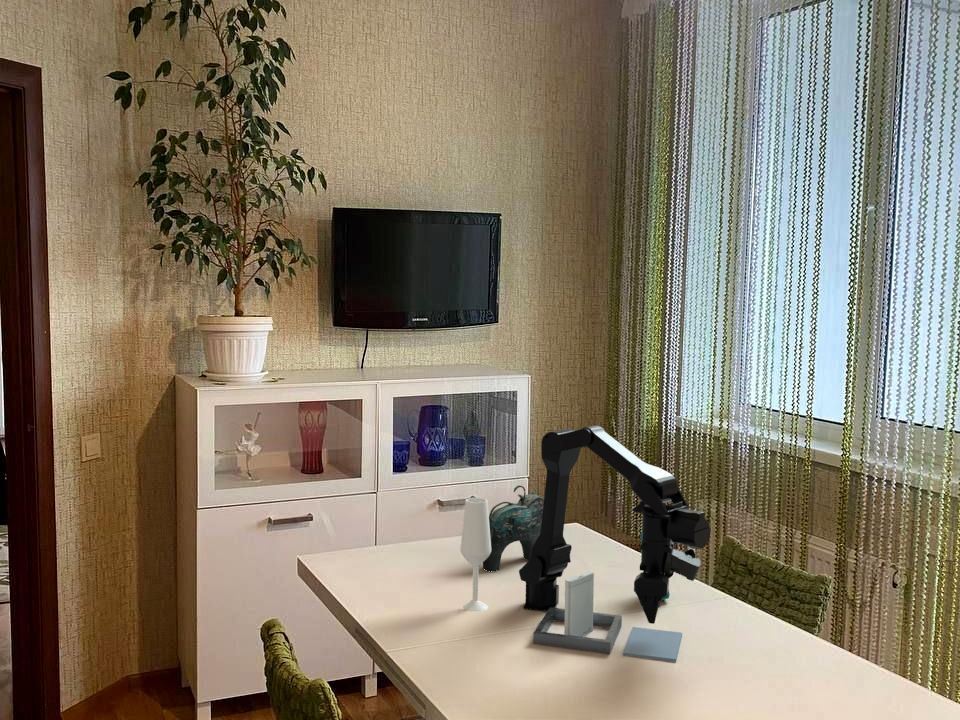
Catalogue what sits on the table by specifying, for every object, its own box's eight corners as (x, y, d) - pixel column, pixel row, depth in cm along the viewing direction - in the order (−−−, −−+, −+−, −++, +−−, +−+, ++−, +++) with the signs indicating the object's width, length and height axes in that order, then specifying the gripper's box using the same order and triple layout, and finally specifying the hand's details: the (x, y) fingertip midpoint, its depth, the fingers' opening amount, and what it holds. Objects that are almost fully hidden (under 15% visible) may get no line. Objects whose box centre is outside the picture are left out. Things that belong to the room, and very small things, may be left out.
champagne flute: (454, 611, 204) (456, 502, 202) (466, 601, 210) (468, 495, 208) (483, 615, 202) (485, 505, 199) (495, 605, 208) (496, 498, 206)
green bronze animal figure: (532, 555, 246) (533, 479, 244) (550, 560, 241) (552, 483, 239) (476, 570, 232) (477, 490, 231) (494, 576, 228) (495, 495, 226)
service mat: (623, 655, 181) (623, 652, 181) (632, 629, 195) (632, 626, 195) (676, 662, 179) (676, 659, 178) (682, 635, 192) (682, 632, 192)
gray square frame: (533, 645, 186) (533, 633, 186) (549, 618, 200) (549, 607, 200) (610, 655, 181) (610, 642, 181) (621, 627, 196) (621, 615, 196)
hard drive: (593, 631, 193) (595, 572, 192) (569, 643, 187) (570, 582, 186) (587, 629, 194) (588, 570, 193) (562, 640, 188) (564, 580, 187)
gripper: (695, 554, 173) (692, 637, 175) (701, 529, 191) (699, 604, 193) (634, 549, 177) (632, 630, 178) (646, 524, 194) (644, 598, 196)
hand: (654, 615), depth 186 cm, fingers open, 9 cm apart
